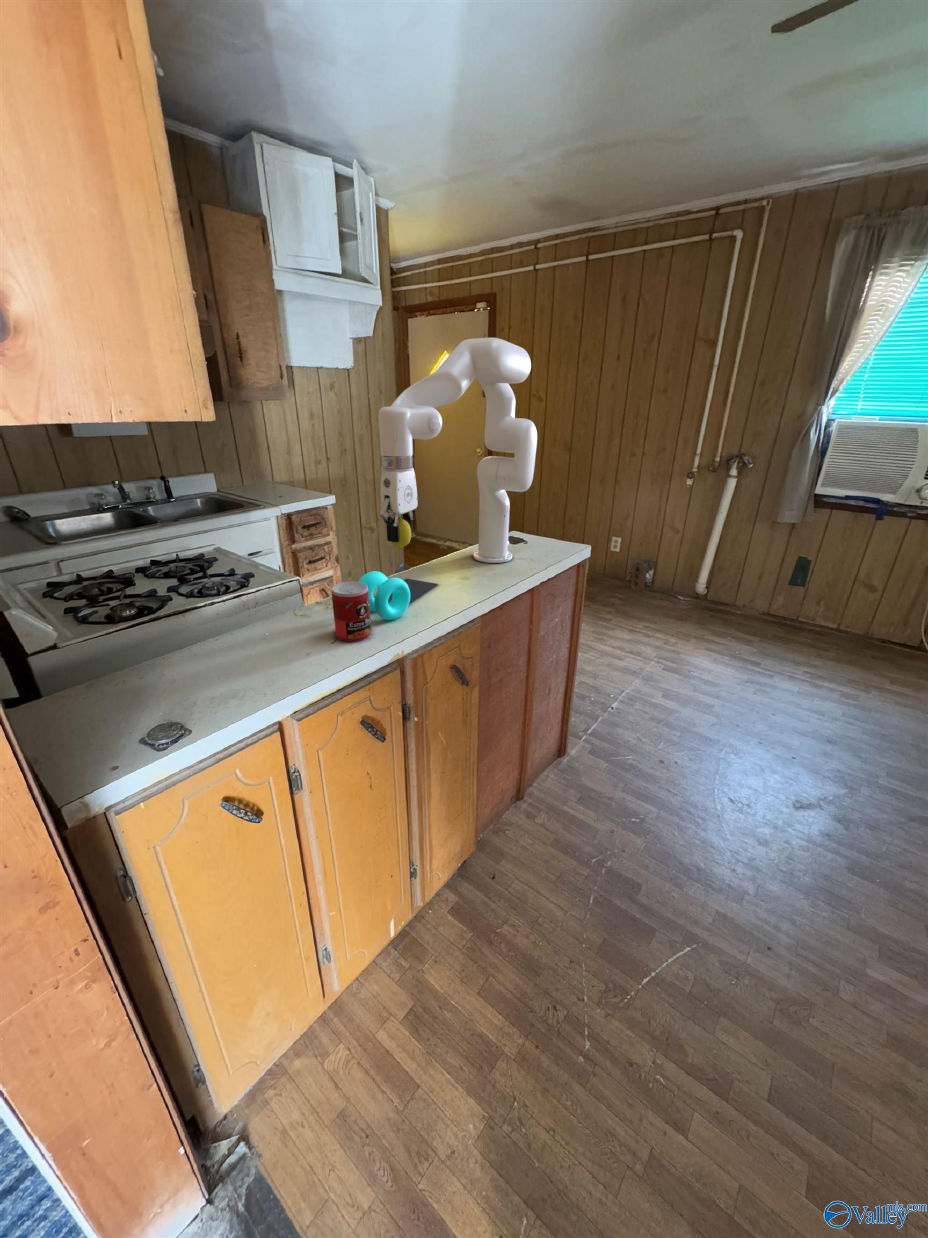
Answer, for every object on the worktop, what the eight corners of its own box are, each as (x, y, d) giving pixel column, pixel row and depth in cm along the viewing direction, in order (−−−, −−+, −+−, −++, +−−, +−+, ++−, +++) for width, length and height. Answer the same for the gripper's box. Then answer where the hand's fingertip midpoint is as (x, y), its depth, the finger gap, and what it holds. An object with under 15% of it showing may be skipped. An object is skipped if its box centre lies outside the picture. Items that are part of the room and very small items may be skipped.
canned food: (350, 645, 105) (345, 596, 101) (328, 634, 110) (323, 587, 106) (379, 634, 110) (375, 587, 106) (357, 623, 115) (353, 578, 111)
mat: (406, 579, 143) (406, 578, 143) (437, 585, 139) (437, 583, 139) (370, 600, 128) (370, 599, 128) (404, 607, 124) (404, 606, 124)
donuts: (385, 603, 127) (383, 565, 123) (413, 614, 121) (412, 574, 117) (354, 615, 120) (350, 575, 116) (381, 627, 114) (379, 585, 110)
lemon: (413, 546, 129) (412, 515, 126) (409, 552, 124) (408, 520, 121) (392, 545, 129) (391, 514, 126) (387, 551, 124) (385, 519, 121)
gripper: (391, 468, 110) (394, 548, 117) (428, 460, 124) (429, 532, 131) (362, 466, 112) (367, 544, 120) (402, 458, 127) (405, 529, 134)
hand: (400, 537), depth 125 cm, fingers closed on lemon, 5 cm apart
